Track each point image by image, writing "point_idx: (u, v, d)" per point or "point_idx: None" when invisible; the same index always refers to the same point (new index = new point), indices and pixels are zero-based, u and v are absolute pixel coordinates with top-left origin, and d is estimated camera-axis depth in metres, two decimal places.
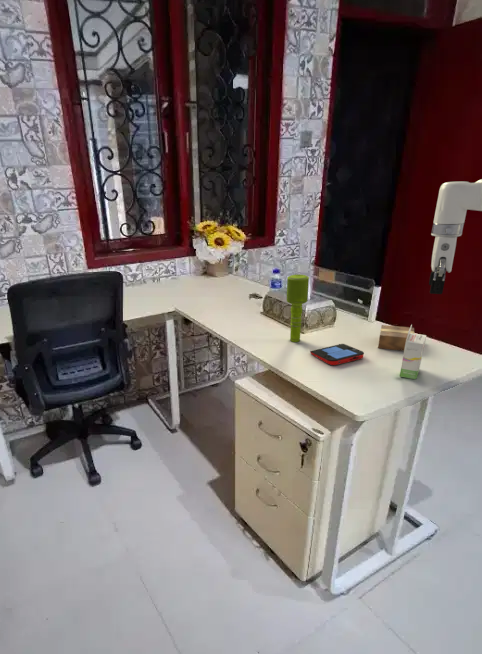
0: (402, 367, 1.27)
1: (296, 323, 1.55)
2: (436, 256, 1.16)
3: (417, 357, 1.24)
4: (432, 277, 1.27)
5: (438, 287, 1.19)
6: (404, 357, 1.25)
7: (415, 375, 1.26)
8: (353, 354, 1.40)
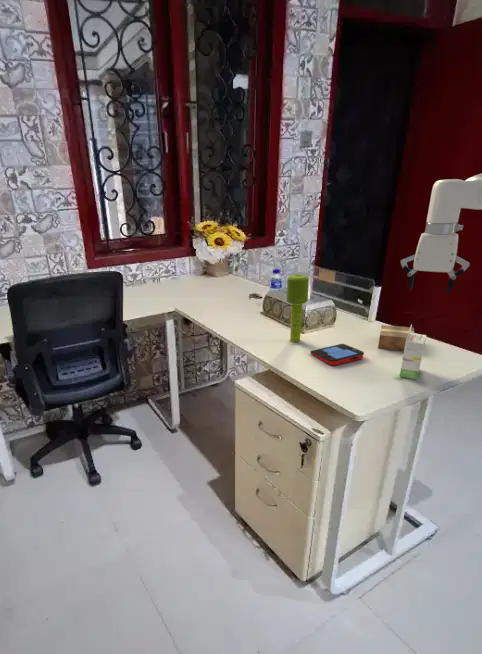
0: (402, 367, 1.27)
1: (296, 323, 1.55)
2: (455, 255, 1.12)
3: (417, 357, 1.24)
4: (412, 281, 1.21)
5: None
6: (404, 357, 1.25)
7: (415, 375, 1.26)
8: (353, 354, 1.40)
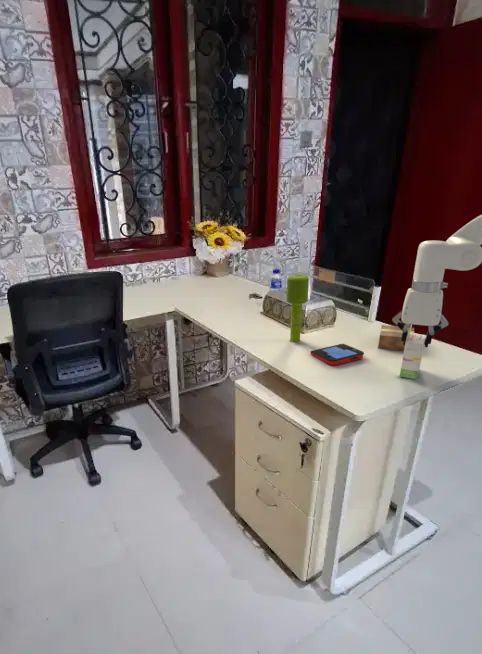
0: (402, 367, 1.27)
1: (296, 323, 1.55)
2: None
3: (417, 357, 1.24)
4: (406, 337, 1.26)
5: None
6: (404, 357, 1.25)
7: (415, 375, 1.26)
8: (353, 354, 1.40)
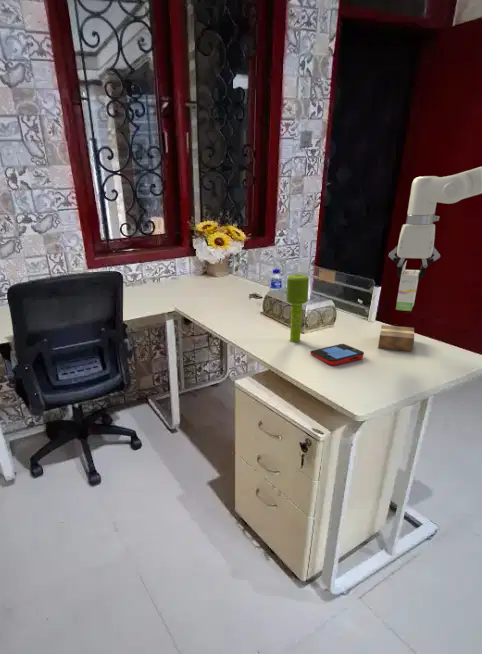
0: (398, 300, 1.36)
1: (296, 323, 1.55)
2: (433, 243, 1.28)
3: (411, 289, 1.33)
4: None
5: (424, 272, 1.34)
6: (400, 290, 1.35)
7: (410, 307, 1.36)
8: (353, 354, 1.40)
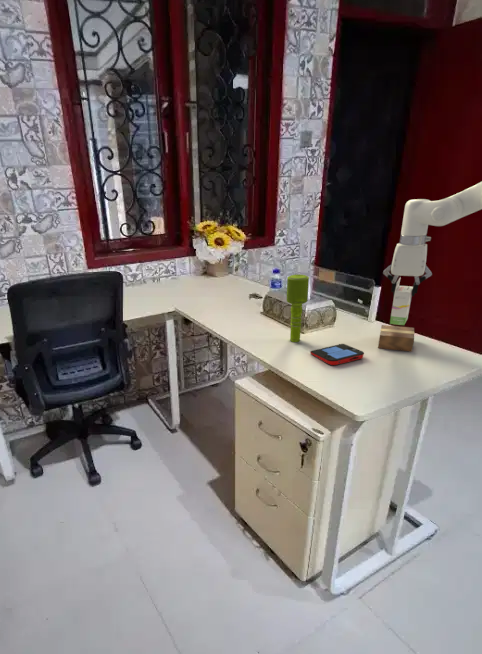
0: (392, 315, 1.44)
1: (296, 323, 1.55)
2: (425, 262, 1.35)
3: (405, 305, 1.40)
4: None
5: None
6: (393, 305, 1.42)
7: (403, 321, 1.43)
8: (353, 354, 1.40)
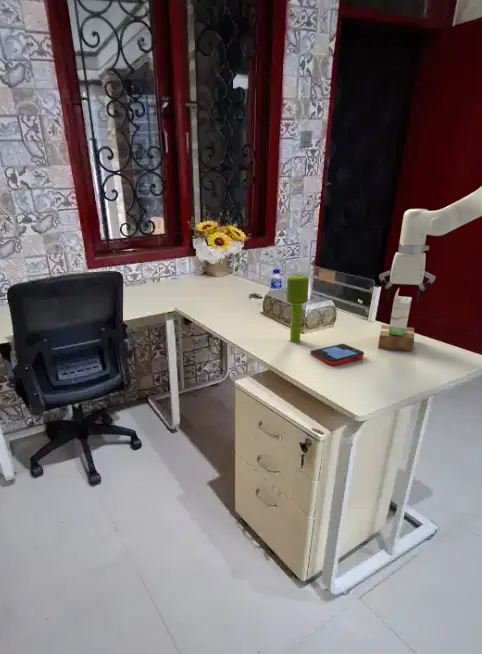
0: (390, 325, 1.45)
1: (296, 323, 1.55)
2: (423, 271, 1.36)
3: (403, 316, 1.42)
4: (389, 292, 1.44)
5: (422, 294, 1.41)
6: (392, 316, 1.44)
7: (402, 332, 1.44)
8: (353, 354, 1.40)
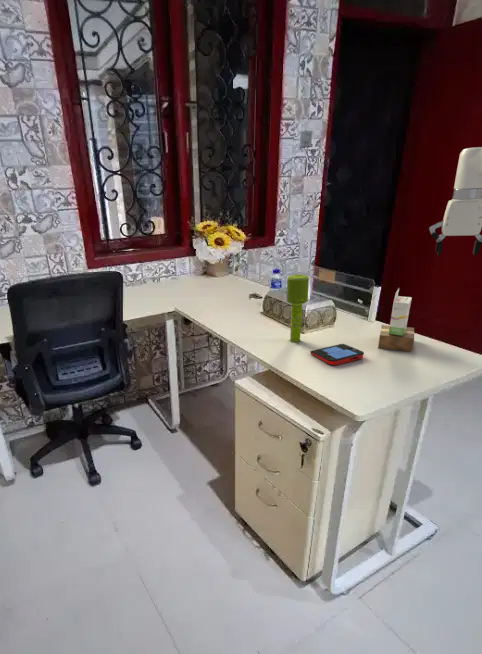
0: (390, 325, 1.45)
1: (296, 323, 1.55)
2: None
3: (403, 316, 1.42)
4: None
5: (479, 247, 1.26)
6: (392, 316, 1.44)
7: (402, 332, 1.44)
8: (353, 354, 1.40)
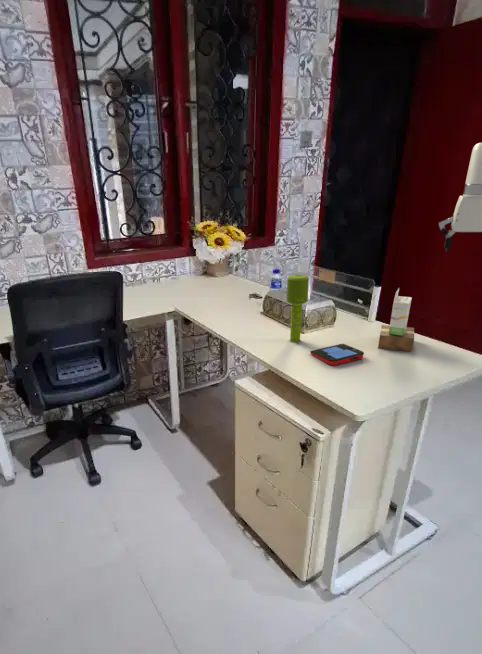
0: (390, 325, 1.45)
1: (296, 323, 1.55)
2: None
3: (403, 316, 1.42)
4: (450, 243, 1.27)
5: None
6: (392, 316, 1.44)
7: (402, 332, 1.44)
8: (353, 354, 1.40)
